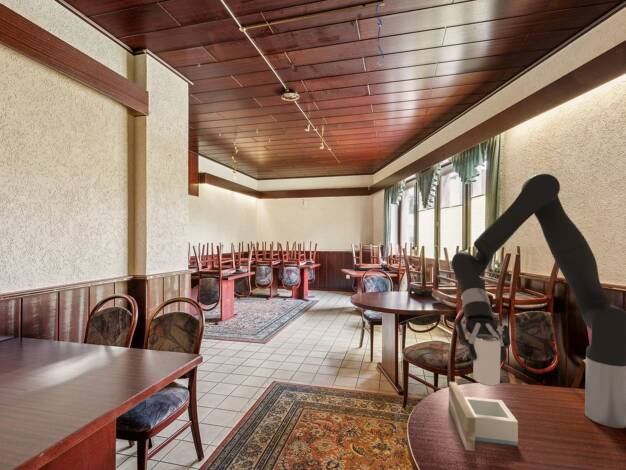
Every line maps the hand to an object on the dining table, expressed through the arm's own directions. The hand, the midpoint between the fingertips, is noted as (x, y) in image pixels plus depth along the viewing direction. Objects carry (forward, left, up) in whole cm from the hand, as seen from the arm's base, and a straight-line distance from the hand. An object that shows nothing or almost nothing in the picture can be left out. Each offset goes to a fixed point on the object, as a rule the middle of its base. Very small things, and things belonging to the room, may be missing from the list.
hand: (488, 360), depth 89 cm
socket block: (0, -1, -19) cm, 19 cm away
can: (0, -1, -6) cm, 7 cm away
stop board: (+7, -1, -19) cm, 20 cm away
